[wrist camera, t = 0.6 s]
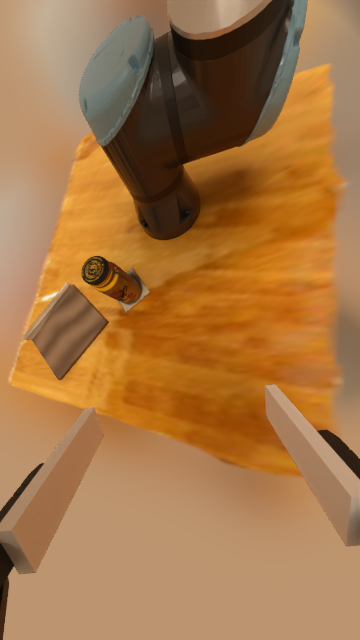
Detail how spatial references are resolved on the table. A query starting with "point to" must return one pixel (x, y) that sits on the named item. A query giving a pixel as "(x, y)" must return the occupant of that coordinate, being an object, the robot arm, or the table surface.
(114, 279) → the condiment
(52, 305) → the dock board
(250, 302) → the table surface
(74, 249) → the table surface
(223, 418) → the table surface
